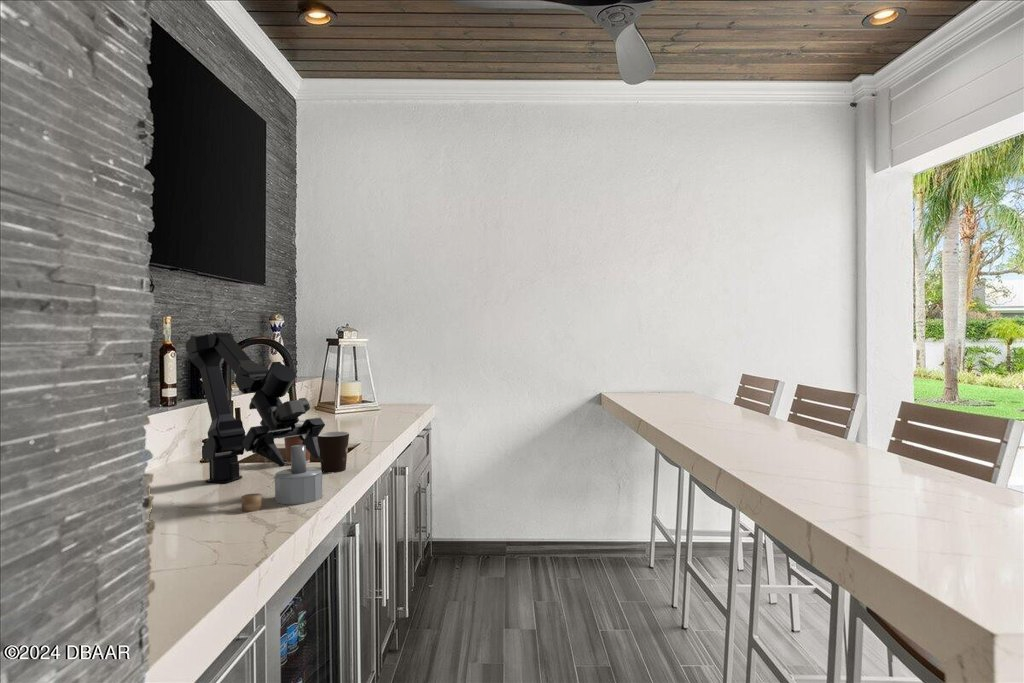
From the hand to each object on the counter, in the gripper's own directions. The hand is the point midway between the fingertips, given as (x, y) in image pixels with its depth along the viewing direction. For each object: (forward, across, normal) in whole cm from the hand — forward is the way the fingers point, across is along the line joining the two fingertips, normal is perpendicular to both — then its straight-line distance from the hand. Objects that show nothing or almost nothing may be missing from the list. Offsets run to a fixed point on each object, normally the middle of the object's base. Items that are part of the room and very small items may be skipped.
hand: (301, 461), depth 142 cm
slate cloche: (+5, 0, +7) cm, 9 cm away
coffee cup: (-20, +24, +32) cm, 45 cm away
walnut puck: (+5, -11, +8) cm, 14 cm away
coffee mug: (-8, +25, +20) cm, 33 cm away
